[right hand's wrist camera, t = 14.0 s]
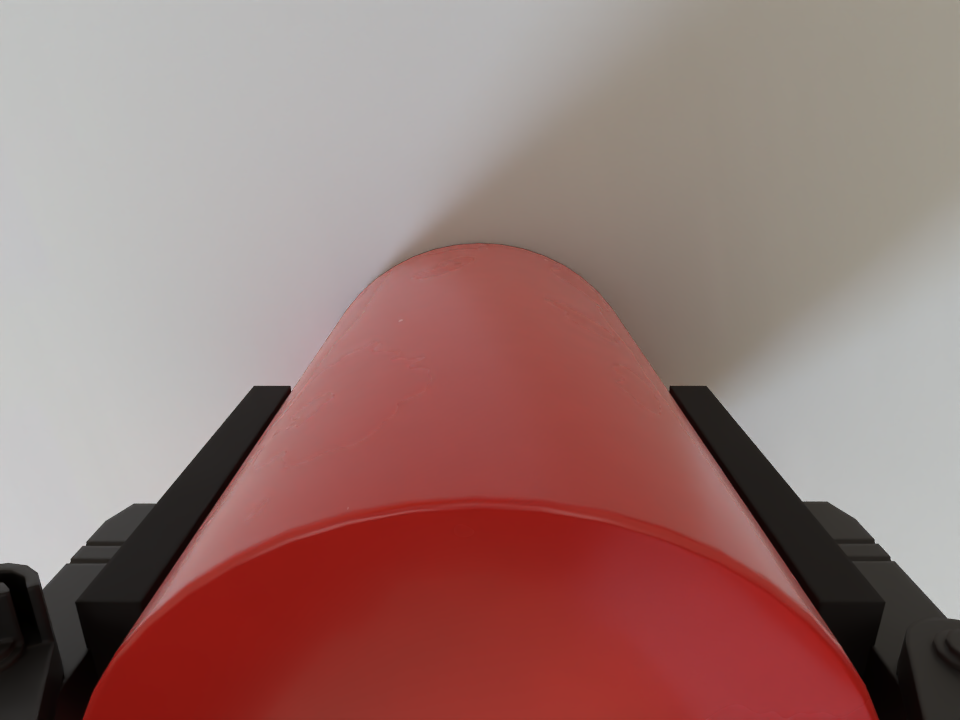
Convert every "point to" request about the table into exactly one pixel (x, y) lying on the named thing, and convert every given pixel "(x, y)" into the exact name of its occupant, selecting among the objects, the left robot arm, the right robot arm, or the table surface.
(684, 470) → the tin
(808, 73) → the table surface
